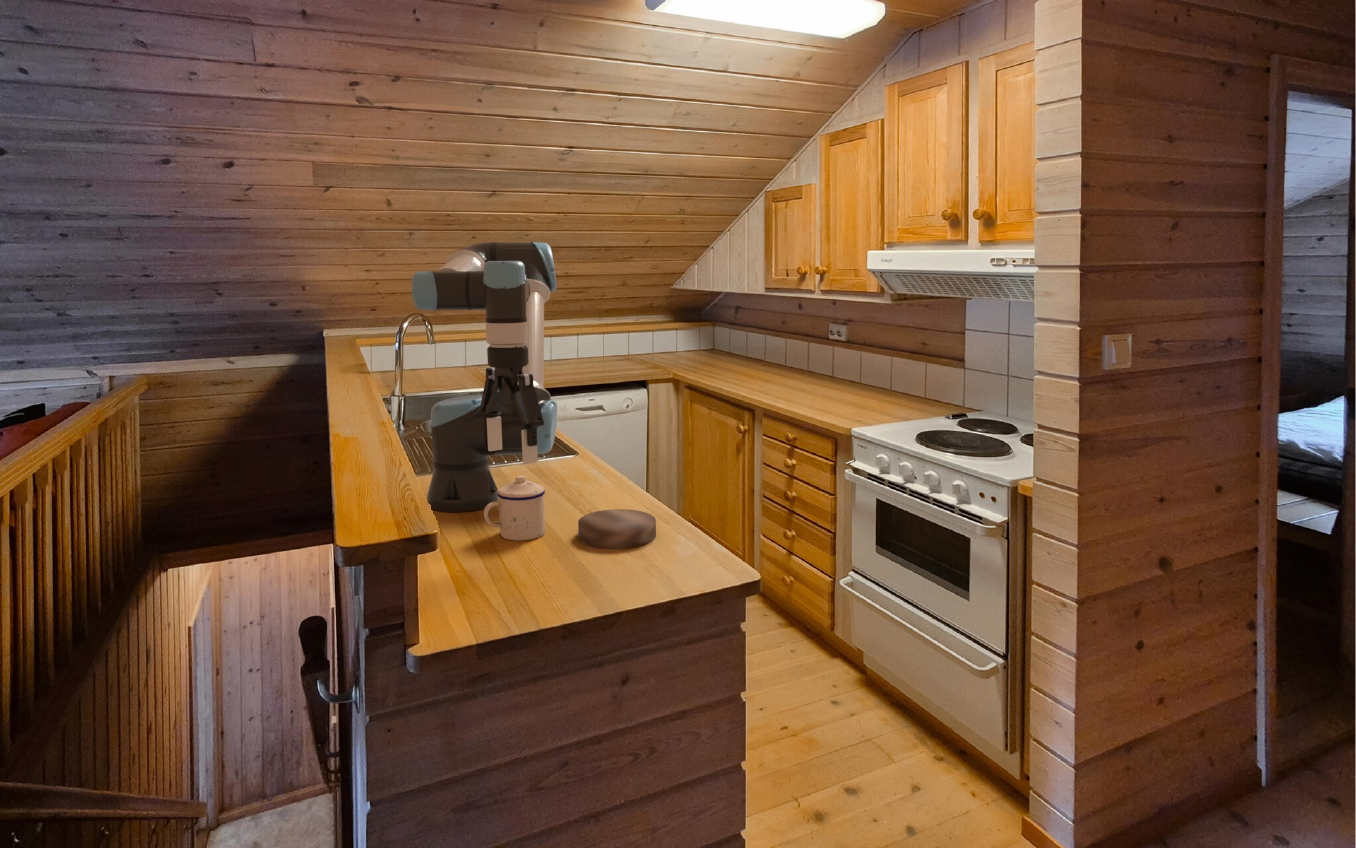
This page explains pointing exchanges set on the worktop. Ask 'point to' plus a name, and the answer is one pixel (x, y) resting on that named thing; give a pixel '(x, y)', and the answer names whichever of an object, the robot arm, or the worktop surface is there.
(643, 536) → the walnut stand
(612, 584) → the worktop surface
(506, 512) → the teacup with lid
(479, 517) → the worktop surface
